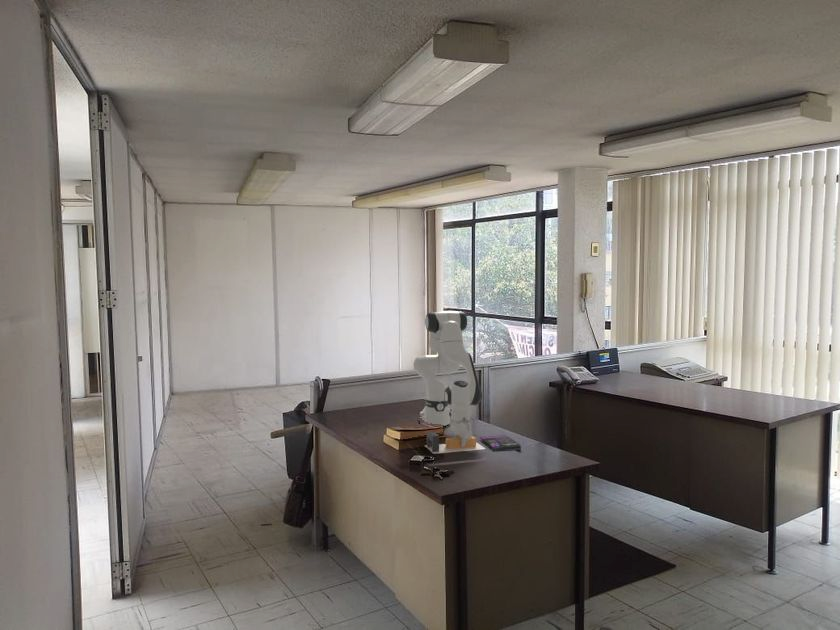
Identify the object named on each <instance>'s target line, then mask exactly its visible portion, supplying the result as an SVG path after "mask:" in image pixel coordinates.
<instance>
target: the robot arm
mask: <svg viewBox="0 0 840 630" xmlns="http://www.w3.org/2000/svg"><path fill="white" fill-rule="evenodd" d="M424 326H425V329H426V330H427V331H428V332H429V339H428V345H429V348H430V349H431V351H433V352H434V353H436V354H423V355H419V356H417V357H415V359H414V361H413V369H414V371H415V373H416V374H418V375H419V376H420V377H421V378H422V379H423V381H424V383H425V386H426V387H425V389H426V400H425V406H424V408H423V409H422V410H421V411H420V412H419V416H420V417H421V418H422V420H424V421H425V422H428V423H432V424H441V425H444V426H445V425H447V424H449V423H450V425H449V427H450V430H451V432H453V433H454V434H455V435H454V436H455V438H458V437H461V439H462V441H461V446H465V442H466V440H471V438H472V436H473V431H472V424H471V422H469V421H470V420H471V407H470V406H477V405H478V404H479V403H480V402H482V399H483V393H482V390H481V386H480V384H479V379H478V376H477V371H476V368H475V364H474V361H473V357H472V355H471V353H469V352H468V351H467V350H466V348H465V346H464V338H463V333H462V332H463V331H465V330H466V328H467V327H468V316H467V314H466V313H465V312H464V311H461V310H458V311H456V310H443V311H442V310H441V311H435V312H434V311H431V312H428V313H426V315H425V317H424ZM461 366H462V367H463V368H464V370H465V372H466V373H465V374H466V377H467V378H466V379H467V380H468V381H464V380H457V381H456V380H455V381H454V382H453V383H452V385H448V386H447V384H446V383H445V382H444V381H441V380H440V379H438V378H437V375H438V376H439V375H451V374H454V373H455V374H456V373H457V372H459V370H460V367H461ZM448 405H450V406H451V409H450V408H449V406H448Z"/></svg>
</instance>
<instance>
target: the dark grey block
mask: <svg viewBox="0 0 840 630" xmlns="http://www.w3.org/2000/svg"><path fill="white" fill-rule="evenodd" d="M439 444H440V435H439V434H438V433H437V432H435V431H434V430H426V445H427V447H432V451H433V452H435V451H439Z"/></svg>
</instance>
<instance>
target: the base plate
mask: <svg viewBox="0 0 840 630" xmlns="http://www.w3.org/2000/svg"><path fill="white" fill-rule="evenodd" d="M424 447H425V448H427V450H429V451H430V452H431V453H432V454H448V453H453V452H454V453H458V452H469V451H478V450H486V448H485V447H484V446H483V445H481V444H479V443H478V442H477V441H476V447H466V448H455V449H448V448H446V443H439V451H435V452H433V451H432V447H427V444H426V445H424Z"/></svg>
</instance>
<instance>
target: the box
mask: <svg viewBox="0 0 840 630" xmlns="http://www.w3.org/2000/svg"><path fill="white" fill-rule="evenodd" d="M479 441H480V442H482V444H484V445H485V446H486V447H488V448H489V449H490V450H491V451H493V452H497V451H498V452H499V451H510V450H514V451H516V452H521V449H522V445H521V444H520V443H518V442H516V441H515V440H514V439H512V438H511V437H509V436H508V435H506V434H504V435H493V436H492V435H491V436H482V437H479Z"/></svg>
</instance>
